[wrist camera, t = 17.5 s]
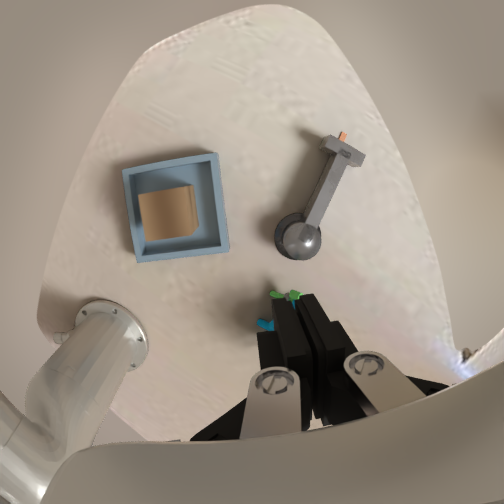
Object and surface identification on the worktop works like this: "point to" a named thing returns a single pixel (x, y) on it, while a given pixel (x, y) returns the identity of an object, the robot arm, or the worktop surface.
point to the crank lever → (319, 200)
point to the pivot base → (290, 219)
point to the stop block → (169, 213)
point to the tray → (207, 202)
